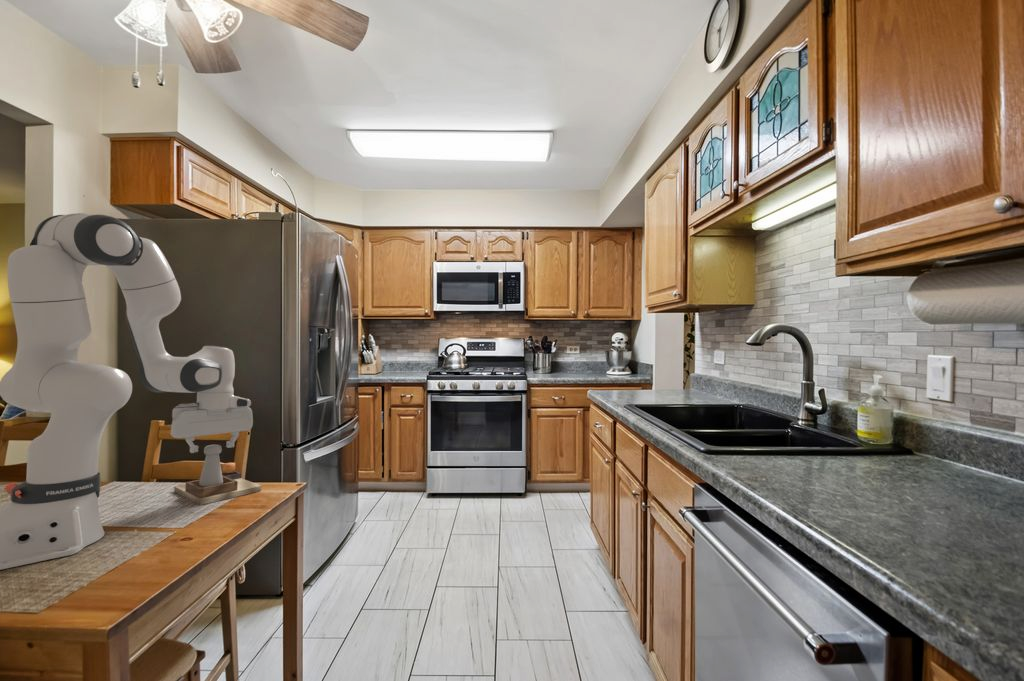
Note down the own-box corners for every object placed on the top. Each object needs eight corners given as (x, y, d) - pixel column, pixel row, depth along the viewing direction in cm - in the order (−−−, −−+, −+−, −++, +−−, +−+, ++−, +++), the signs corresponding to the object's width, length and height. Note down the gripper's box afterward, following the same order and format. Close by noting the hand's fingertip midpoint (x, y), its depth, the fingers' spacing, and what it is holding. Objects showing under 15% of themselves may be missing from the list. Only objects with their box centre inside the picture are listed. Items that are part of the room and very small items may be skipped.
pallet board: (200, 505, 122) (201, 490, 122) (174, 491, 132) (174, 477, 132) (261, 490, 135) (261, 477, 135) (232, 479, 146) (233, 466, 146)
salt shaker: (202, 495, 126) (205, 448, 126) (195, 490, 129) (197, 445, 129) (226, 490, 130) (228, 445, 130) (218, 486, 134) (220, 442, 134)
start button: (225, 473, 140) (226, 465, 140) (221, 471, 141) (221, 463, 141) (236, 471, 142) (237, 463, 142) (232, 469, 144) (232, 462, 144)
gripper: (177, 405, 120) (174, 457, 119) (256, 400, 137) (254, 446, 136) (168, 403, 123) (165, 454, 123) (246, 398, 140) (244, 443, 140)
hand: (212, 449), depth 130 cm, fingers open, 8 cm apart
